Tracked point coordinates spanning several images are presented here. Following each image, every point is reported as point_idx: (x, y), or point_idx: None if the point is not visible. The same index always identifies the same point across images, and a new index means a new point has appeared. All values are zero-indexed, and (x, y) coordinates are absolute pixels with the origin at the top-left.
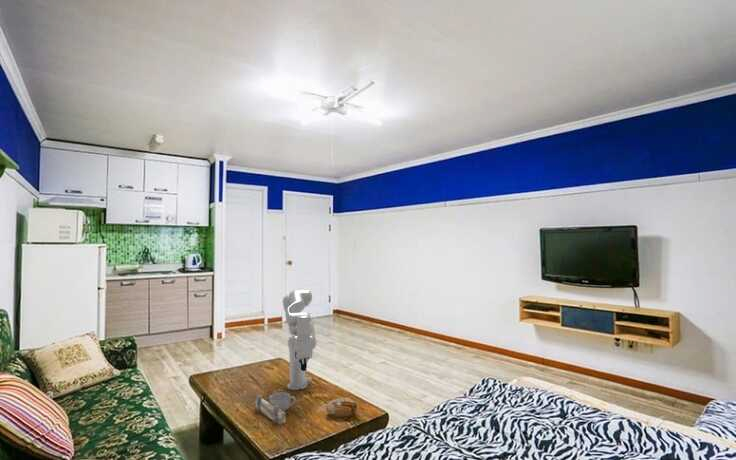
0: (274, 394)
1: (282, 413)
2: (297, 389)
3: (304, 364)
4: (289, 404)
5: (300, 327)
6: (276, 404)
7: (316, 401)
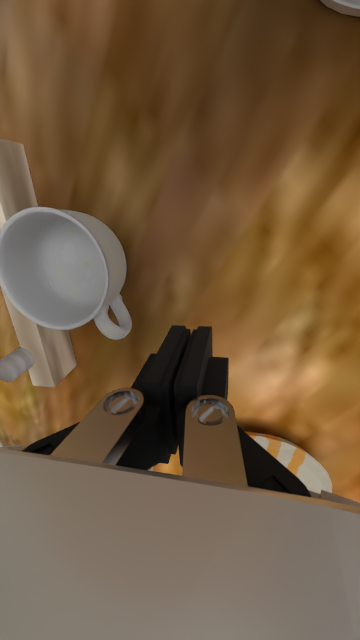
0: (32, 213)
1: (43, 383)
2: (327, 4)
3: (163, 455)
4: (111, 305)
5: None
6: (36, 302)
7: (281, 296)
